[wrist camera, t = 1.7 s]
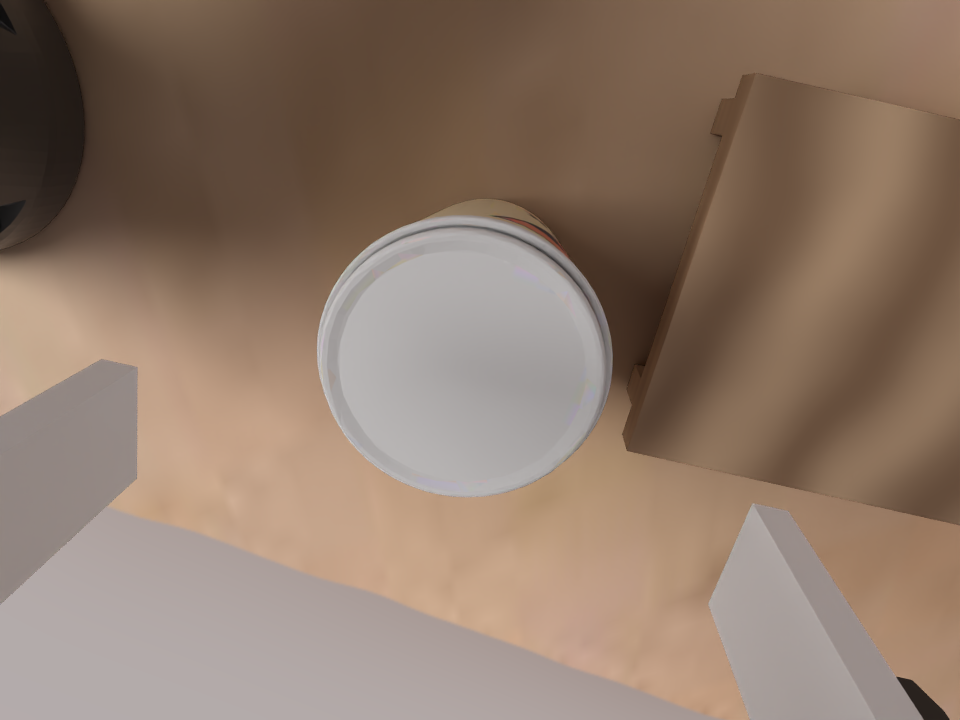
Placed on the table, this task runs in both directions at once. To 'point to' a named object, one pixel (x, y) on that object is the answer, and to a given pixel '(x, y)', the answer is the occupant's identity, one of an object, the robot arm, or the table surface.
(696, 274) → the footstool
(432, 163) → the table surface
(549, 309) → the coffee cup
